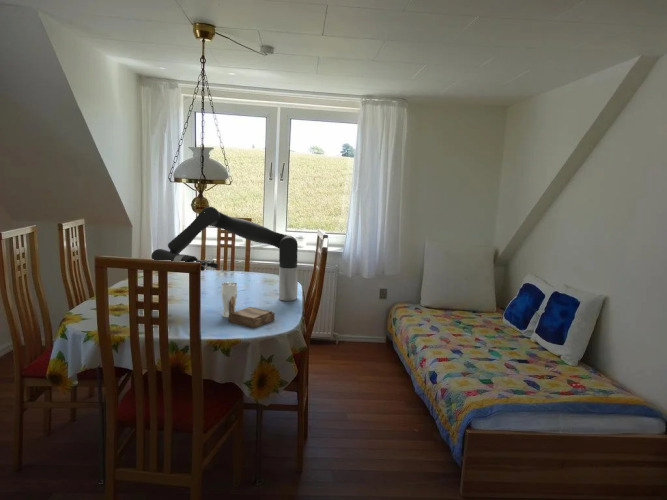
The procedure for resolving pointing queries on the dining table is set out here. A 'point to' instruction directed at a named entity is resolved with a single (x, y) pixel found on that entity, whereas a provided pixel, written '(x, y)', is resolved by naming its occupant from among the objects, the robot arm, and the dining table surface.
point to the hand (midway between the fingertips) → (210, 267)
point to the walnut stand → (251, 317)
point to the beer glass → (229, 298)
